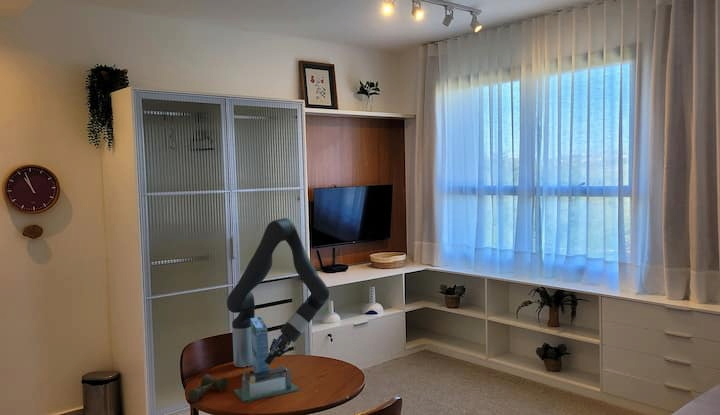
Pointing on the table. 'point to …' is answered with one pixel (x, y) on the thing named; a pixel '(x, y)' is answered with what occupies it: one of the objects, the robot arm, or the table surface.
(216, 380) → the kendama
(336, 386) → the table surface
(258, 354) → the gum box
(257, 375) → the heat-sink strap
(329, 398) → the table surface
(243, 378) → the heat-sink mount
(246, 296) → the robot arm
